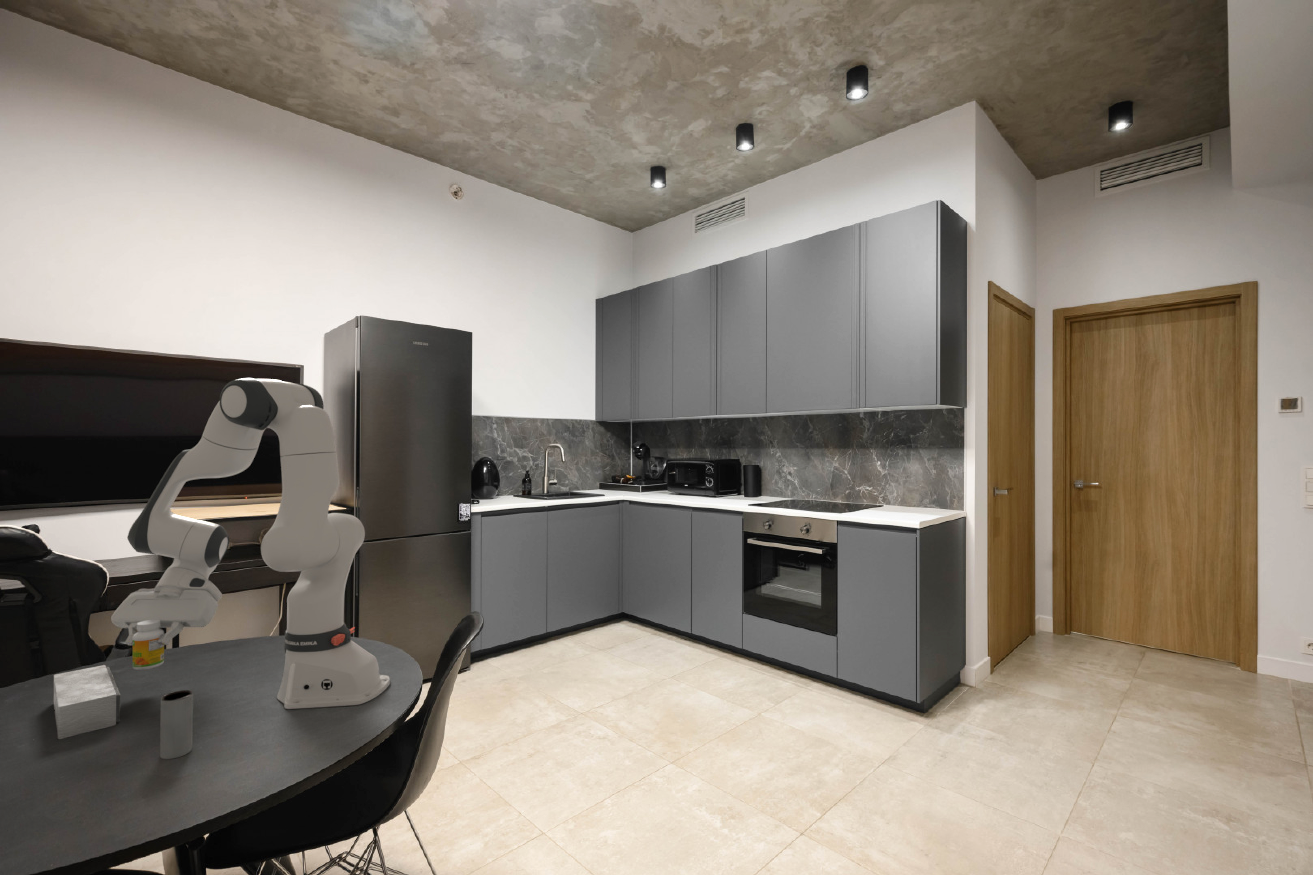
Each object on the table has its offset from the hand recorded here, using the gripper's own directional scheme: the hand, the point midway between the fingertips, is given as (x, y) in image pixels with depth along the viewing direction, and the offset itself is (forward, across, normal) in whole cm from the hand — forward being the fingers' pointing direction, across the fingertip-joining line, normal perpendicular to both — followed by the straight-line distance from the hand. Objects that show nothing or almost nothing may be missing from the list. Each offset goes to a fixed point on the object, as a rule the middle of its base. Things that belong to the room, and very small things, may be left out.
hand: (146, 643), depth 133 cm
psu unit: (+15, -4, 0) cm, 15 cm away
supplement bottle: (+3, 0, +4) cm, 5 cm away
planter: (+26, +26, -11) cm, 38 cm away
